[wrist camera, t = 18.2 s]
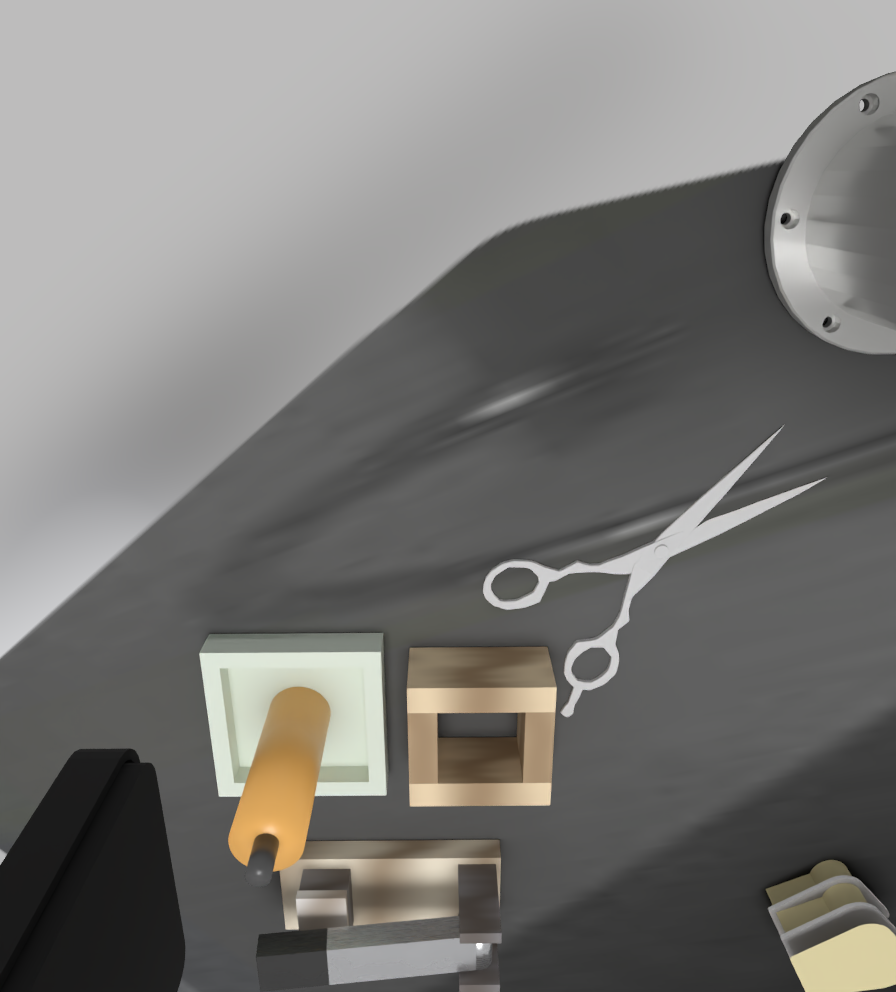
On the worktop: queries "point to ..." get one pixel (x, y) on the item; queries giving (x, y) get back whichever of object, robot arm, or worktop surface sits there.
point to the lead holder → (481, 760)
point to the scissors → (639, 567)
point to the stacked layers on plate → (834, 931)
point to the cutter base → (400, 890)
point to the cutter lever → (366, 953)
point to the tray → (299, 663)
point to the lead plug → (281, 785)
